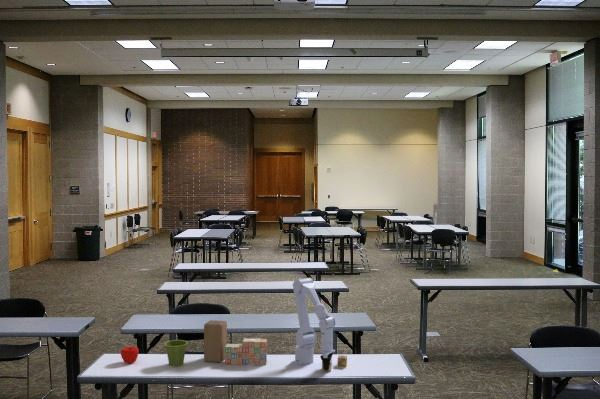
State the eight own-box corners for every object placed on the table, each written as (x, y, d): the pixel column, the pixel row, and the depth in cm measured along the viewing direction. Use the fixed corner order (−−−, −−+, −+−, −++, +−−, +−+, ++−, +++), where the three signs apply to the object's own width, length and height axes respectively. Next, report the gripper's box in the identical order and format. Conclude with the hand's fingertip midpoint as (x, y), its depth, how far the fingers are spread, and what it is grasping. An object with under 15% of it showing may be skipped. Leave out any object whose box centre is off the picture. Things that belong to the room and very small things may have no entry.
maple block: (321, 371, 284) (321, 362, 284) (323, 368, 289) (323, 359, 289) (330, 371, 284) (330, 362, 284) (331, 368, 288) (331, 359, 288)
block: (203, 362, 300) (203, 324, 300) (209, 356, 310) (209, 319, 310) (221, 363, 299) (221, 324, 298) (227, 357, 309) (227, 320, 308)
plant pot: (163, 362, 300) (163, 340, 299) (186, 360, 303) (186, 339, 303) (165, 369, 288) (165, 346, 288) (189, 366, 292) (189, 344, 292)
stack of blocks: (224, 364, 296) (224, 341, 296) (226, 361, 303) (226, 337, 302) (266, 365, 296) (266, 341, 295) (267, 361, 302) (267, 338, 302)
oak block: (337, 366, 291) (337, 357, 291) (338, 364, 296) (338, 355, 296) (346, 367, 290) (346, 358, 290) (347, 364, 295) (347, 355, 295)
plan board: (319, 372, 283) (319, 371, 283) (322, 363, 299) (322, 362, 299) (347, 374, 281) (347, 373, 281) (349, 364, 296) (349, 363, 296)
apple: (121, 366, 293) (121, 350, 293) (119, 361, 301) (119, 346, 301) (139, 363, 297) (139, 348, 297) (137, 359, 305) (137, 344, 305)
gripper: (333, 345, 278) (333, 373, 278) (336, 337, 292) (336, 364, 293) (319, 344, 279) (319, 372, 280) (322, 337, 294) (322, 363, 294)
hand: (326, 368), depth 286 cm, fingers closed on maple block, 4 cm apart
